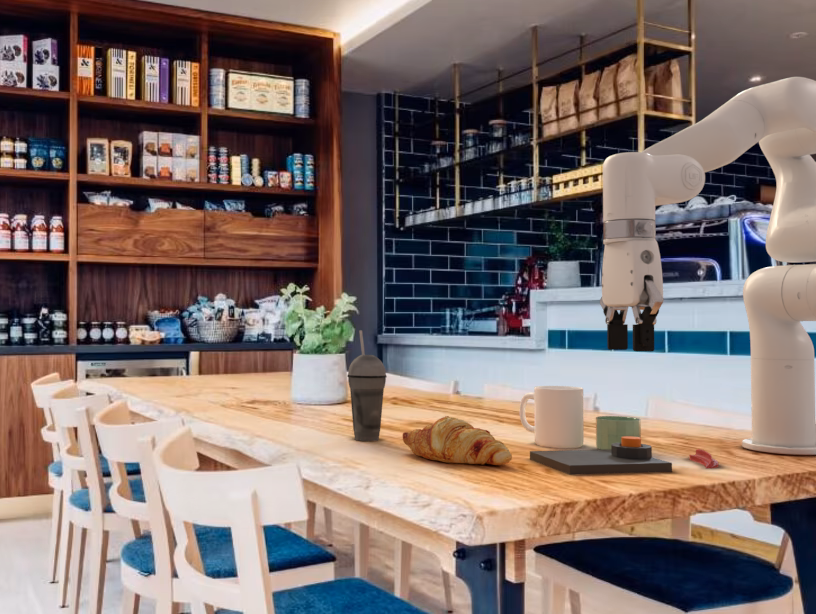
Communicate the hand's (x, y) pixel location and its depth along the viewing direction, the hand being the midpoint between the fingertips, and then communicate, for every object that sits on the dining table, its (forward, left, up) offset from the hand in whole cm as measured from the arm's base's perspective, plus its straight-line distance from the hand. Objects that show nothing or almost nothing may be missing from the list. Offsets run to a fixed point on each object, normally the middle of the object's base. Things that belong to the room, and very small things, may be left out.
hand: (630, 349), depth 127 cm
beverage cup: (+34, -32, -18) cm, 50 cm away
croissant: (+26, -8, -18) cm, 32 cm away
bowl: (-5, -13, -18) cm, 23 cm away
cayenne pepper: (-12, 0, -18) cm, 22 cm away
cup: (+3, -22, -18) cm, 28 cm away
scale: (+6, 0, -18) cm, 18 cm away
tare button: (0, 0, -15) cm, 15 cm away
